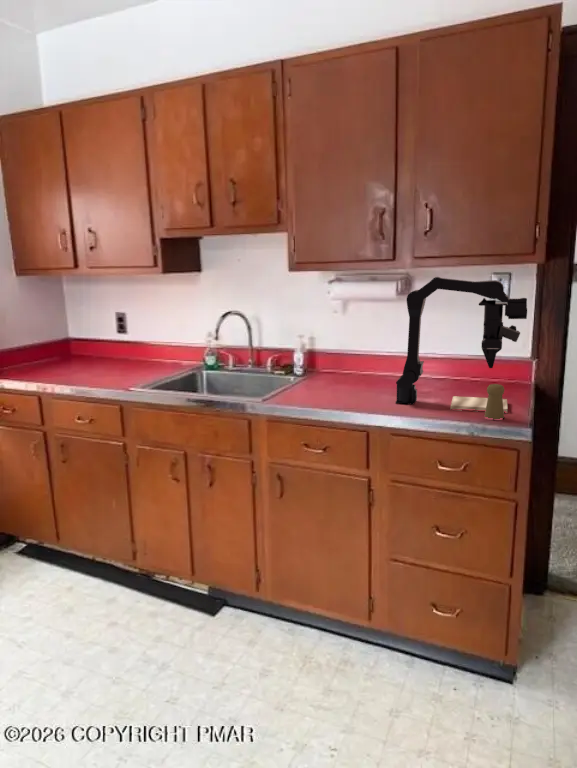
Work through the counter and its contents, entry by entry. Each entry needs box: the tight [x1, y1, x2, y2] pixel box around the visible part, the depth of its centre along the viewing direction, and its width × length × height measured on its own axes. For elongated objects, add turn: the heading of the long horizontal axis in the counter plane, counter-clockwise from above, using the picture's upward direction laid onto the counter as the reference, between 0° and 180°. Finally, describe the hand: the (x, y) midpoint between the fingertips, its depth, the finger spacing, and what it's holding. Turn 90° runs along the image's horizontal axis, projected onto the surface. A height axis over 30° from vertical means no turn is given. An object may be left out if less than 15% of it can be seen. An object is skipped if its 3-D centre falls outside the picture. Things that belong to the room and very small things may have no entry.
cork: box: [484, 383, 505, 419], centre depth 180 cm, size 6×6×11 cm
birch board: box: [450, 395, 508, 413], centre depth 195 cm, size 18×13×2 cm
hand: (491, 365), depth 191 cm, fingers open, 9 cm apart
